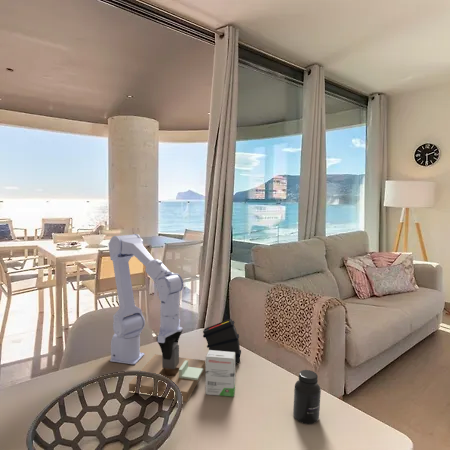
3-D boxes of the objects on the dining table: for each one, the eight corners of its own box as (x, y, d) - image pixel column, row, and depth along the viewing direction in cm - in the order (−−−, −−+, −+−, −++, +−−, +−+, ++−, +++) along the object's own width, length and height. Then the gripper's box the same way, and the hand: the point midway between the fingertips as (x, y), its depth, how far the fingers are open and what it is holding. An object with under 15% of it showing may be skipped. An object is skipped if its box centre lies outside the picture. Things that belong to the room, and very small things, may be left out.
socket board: (128, 393, 103) (128, 383, 103) (155, 362, 121) (155, 354, 121) (187, 401, 99) (187, 391, 99) (205, 369, 118) (205, 360, 117)
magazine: (248, 360, 121) (230, 321, 120) (214, 373, 123) (197, 334, 123) (249, 355, 124) (232, 317, 124) (216, 367, 127) (199, 330, 126)
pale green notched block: (178, 377, 106) (178, 369, 106) (185, 368, 112) (185, 360, 112) (197, 380, 105) (197, 372, 105) (203, 370, 111) (203, 362, 110)
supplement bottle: (314, 428, 89) (316, 384, 88) (289, 419, 93) (291, 376, 91) (322, 414, 95) (324, 372, 94) (298, 405, 98) (300, 365, 97)
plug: (162, 367, 108) (162, 346, 107) (167, 361, 112) (167, 340, 111) (174, 369, 107) (174, 347, 107) (178, 363, 111) (178, 341, 111)
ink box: (235, 388, 107) (236, 351, 105) (233, 397, 102) (234, 358, 101) (207, 385, 108) (208, 348, 107) (204, 394, 103) (205, 356, 102)
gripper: (173, 323, 100) (173, 368, 102) (189, 307, 114) (189, 346, 116) (150, 320, 102) (150, 365, 103) (169, 305, 116) (169, 344, 117)
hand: (169, 355), depth 109 cm, fingers closed on plug, 4 cm apart
